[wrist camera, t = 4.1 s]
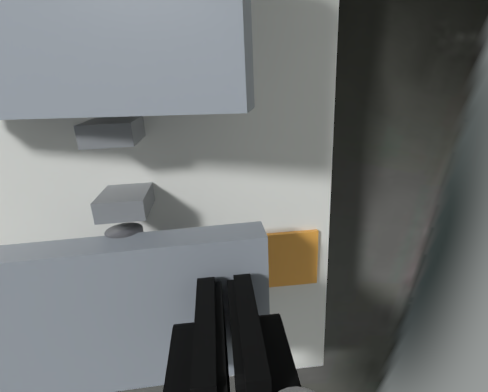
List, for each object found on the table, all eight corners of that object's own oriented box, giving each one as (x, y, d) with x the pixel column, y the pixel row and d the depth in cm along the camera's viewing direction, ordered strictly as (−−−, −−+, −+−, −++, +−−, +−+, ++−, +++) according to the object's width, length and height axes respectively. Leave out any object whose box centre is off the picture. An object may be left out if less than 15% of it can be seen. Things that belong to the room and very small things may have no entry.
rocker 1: (-70, -80, 9) (-168, -118, 8) (252, -129, 8) (234, -193, 6) (-13, 112, 11) (-80, 122, 9) (258, 104, 10) (247, 113, 8)
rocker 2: (-13, 235, 11) (-57, 269, 9) (256, 210, 12) (267, 237, 10) (28, 357, 13) (-2, 407, 11) (260, 328, 14) (271, 370, 12)
